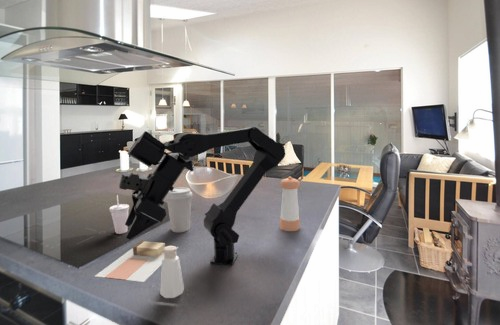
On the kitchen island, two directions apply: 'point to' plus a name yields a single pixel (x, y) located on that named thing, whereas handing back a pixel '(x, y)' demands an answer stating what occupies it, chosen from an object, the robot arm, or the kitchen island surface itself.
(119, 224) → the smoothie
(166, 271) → the pepper shaker
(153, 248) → the wooden block
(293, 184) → the salt shaker
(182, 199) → the coffee cup
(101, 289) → the kitchen island surface
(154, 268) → the mat
